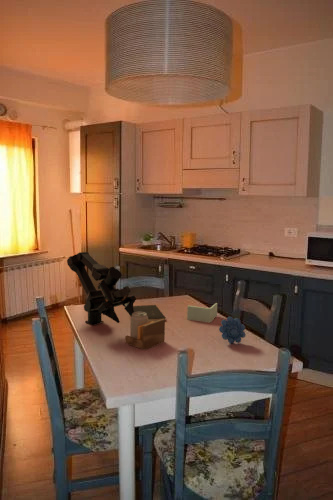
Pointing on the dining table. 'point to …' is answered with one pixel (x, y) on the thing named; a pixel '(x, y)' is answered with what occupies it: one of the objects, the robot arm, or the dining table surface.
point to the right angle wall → (202, 313)
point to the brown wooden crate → (149, 335)
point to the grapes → (232, 330)
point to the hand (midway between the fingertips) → (126, 320)
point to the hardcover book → (150, 312)
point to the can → (137, 322)
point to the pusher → (141, 331)
